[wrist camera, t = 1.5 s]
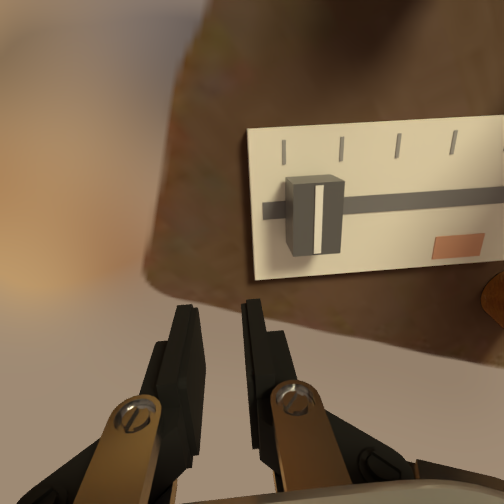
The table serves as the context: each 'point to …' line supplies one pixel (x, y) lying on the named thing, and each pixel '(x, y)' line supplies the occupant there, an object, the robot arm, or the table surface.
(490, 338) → the table surface
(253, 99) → the table surface
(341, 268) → the fader console
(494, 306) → the disposable coffee cup
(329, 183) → the fader knob
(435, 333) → the table surface
